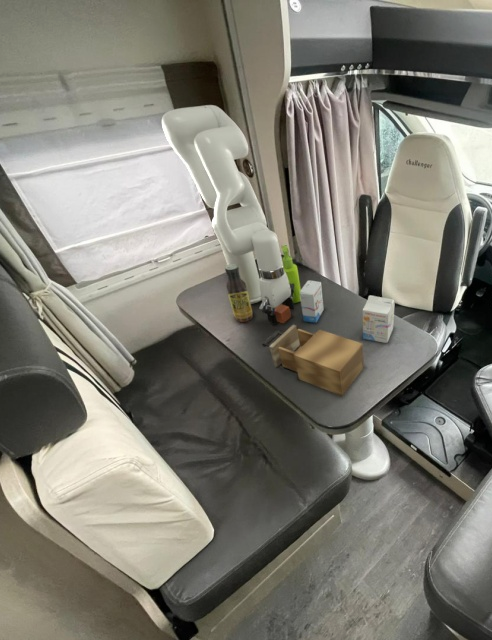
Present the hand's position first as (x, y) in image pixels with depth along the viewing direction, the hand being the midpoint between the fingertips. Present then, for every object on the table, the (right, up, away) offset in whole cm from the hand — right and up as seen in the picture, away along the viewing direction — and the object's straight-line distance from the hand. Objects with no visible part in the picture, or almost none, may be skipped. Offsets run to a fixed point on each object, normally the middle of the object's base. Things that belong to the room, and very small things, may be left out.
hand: (282, 315), depth 126 cm
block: (0, -1, +1) cm, 1 cm away
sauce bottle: (-13, -1, +2) cm, 14 cm away
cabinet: (+20, -19, -19) cm, 34 cm away
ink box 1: (+11, 0, +3) cm, 11 cm away
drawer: (+9, -15, -16) cm, 23 cm away
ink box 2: (+34, -7, -5) cm, 35 cm away
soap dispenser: (+2, +8, +11) cm, 13 cm away
